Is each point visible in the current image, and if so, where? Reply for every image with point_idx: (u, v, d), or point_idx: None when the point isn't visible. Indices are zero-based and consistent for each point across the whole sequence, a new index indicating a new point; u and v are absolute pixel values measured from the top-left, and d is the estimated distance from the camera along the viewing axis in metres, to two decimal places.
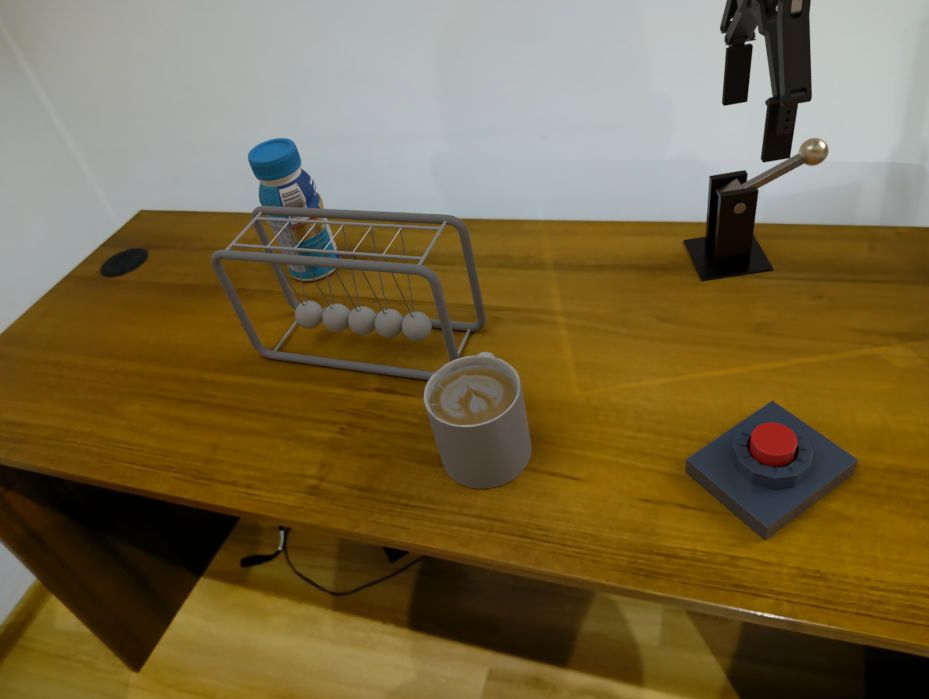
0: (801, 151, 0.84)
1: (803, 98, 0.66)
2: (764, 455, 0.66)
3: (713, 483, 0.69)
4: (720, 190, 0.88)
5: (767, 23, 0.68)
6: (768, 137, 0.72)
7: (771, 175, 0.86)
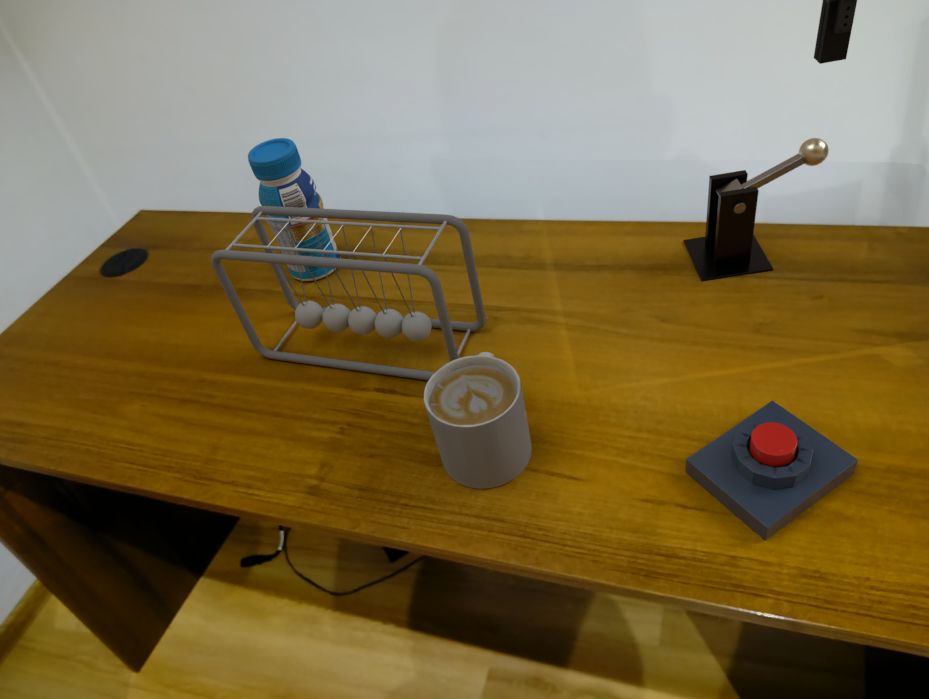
0: (801, 151, 0.84)
1: None
2: (764, 455, 0.66)
3: (713, 483, 0.69)
4: (720, 190, 0.88)
5: None
6: (826, 37, 0.75)
7: (771, 175, 0.86)
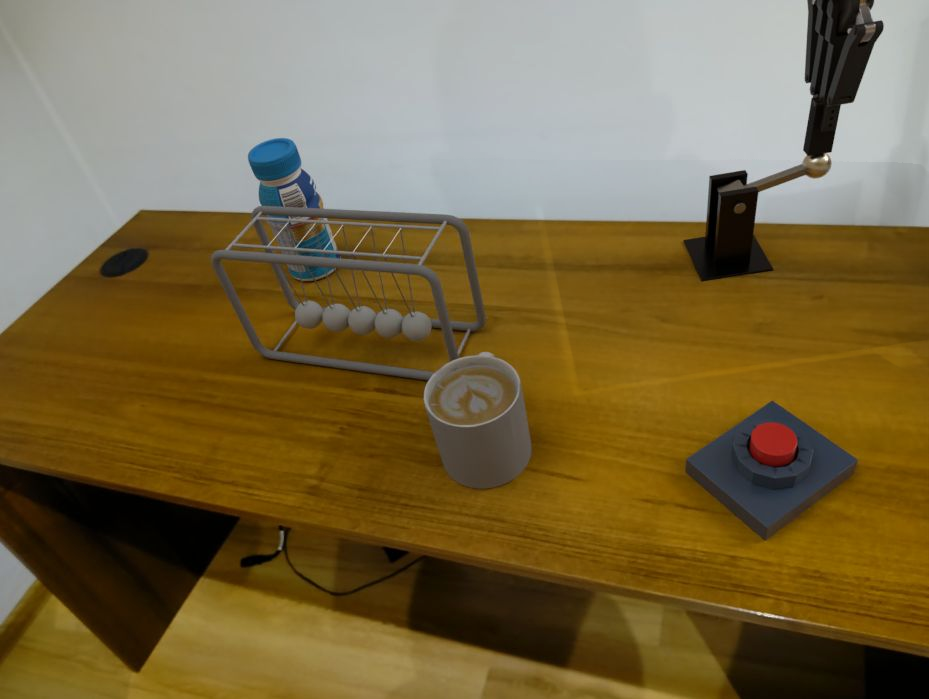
0: (805, 162, 0.85)
1: (847, 100, 0.77)
2: (764, 455, 0.66)
3: (713, 483, 0.69)
4: (721, 188, 0.88)
5: (834, 38, 0.74)
6: (813, 133, 0.82)
7: (773, 181, 0.87)
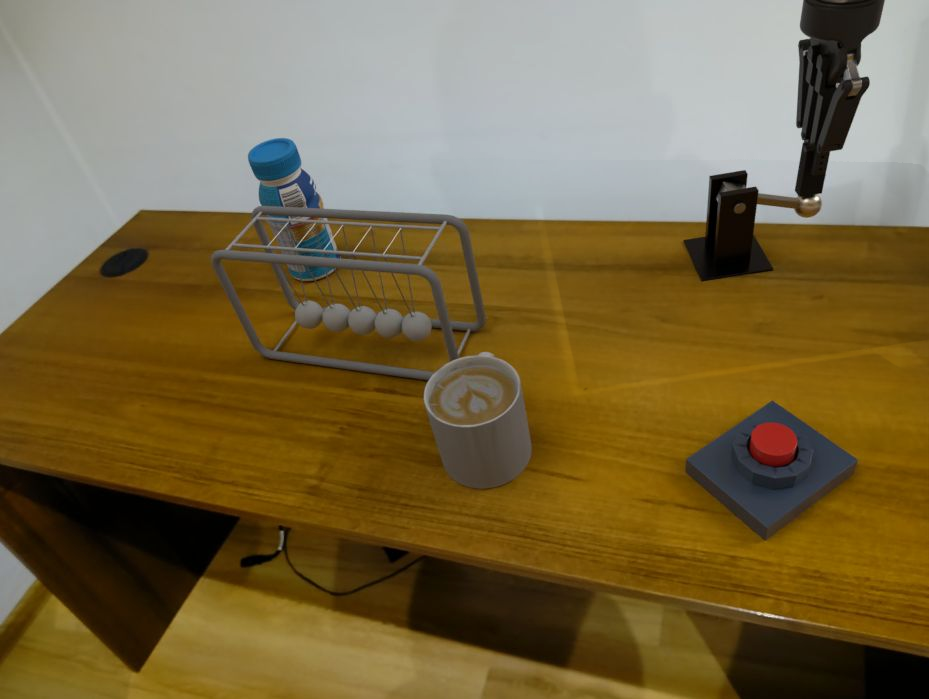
0: (803, 197, 0.89)
1: (836, 147, 0.80)
2: (764, 455, 0.66)
3: (713, 483, 0.69)
4: (728, 184, 0.88)
5: (824, 90, 0.78)
6: (804, 176, 0.86)
7: (771, 200, 0.88)
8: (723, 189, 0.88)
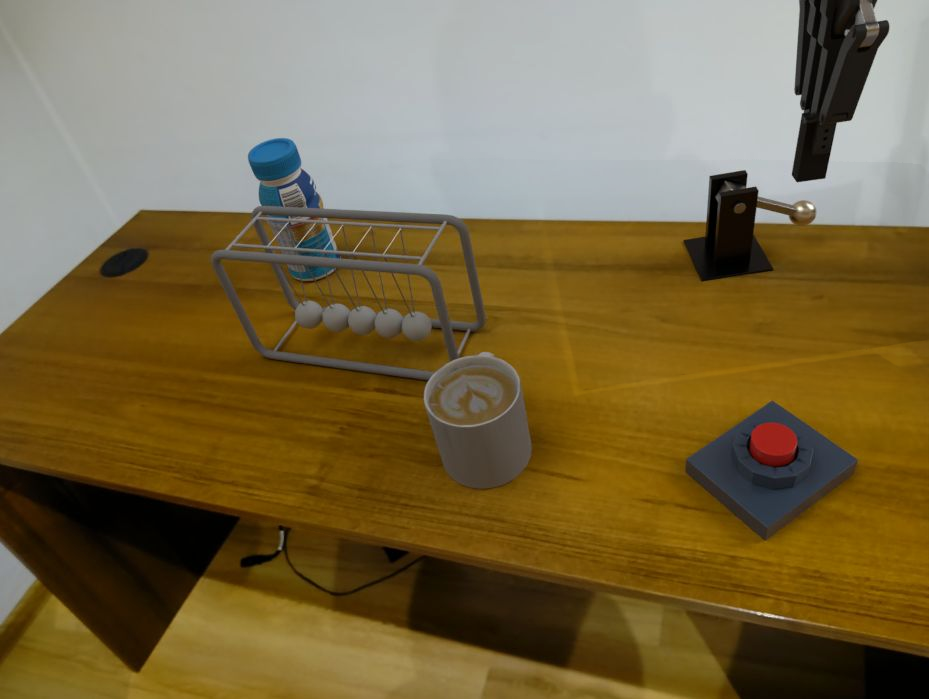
0: (799, 204, 0.89)
1: (844, 117, 0.63)
2: (764, 455, 0.66)
3: (713, 483, 0.69)
4: (729, 183, 0.88)
5: (829, 41, 0.60)
6: (803, 156, 0.69)
7: (769, 204, 0.89)
8: (724, 188, 0.88)
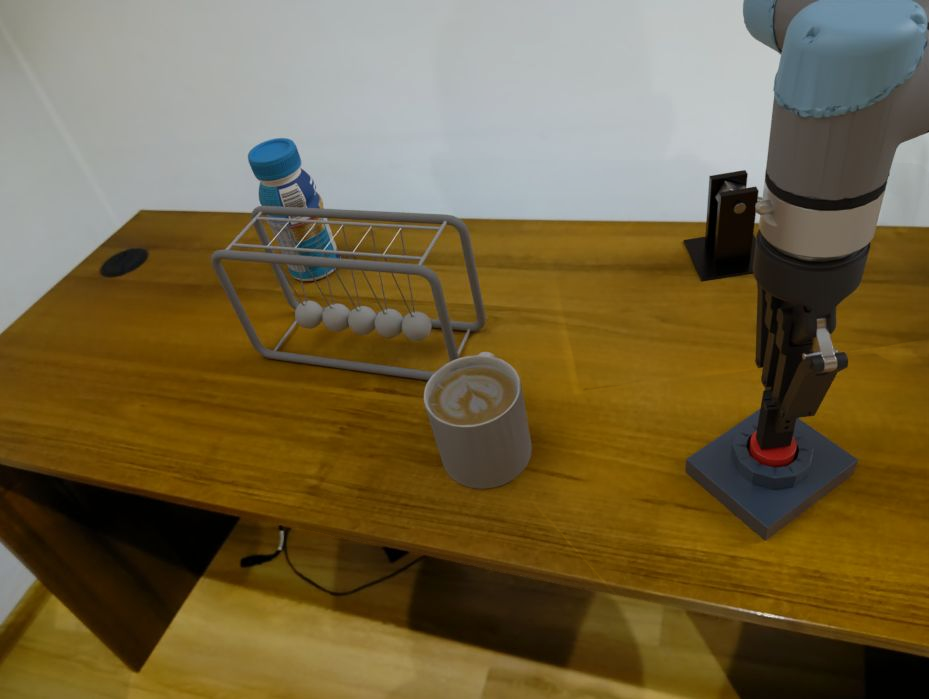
0: None
1: (805, 414, 0.59)
2: (763, 460, 0.67)
3: (713, 483, 0.69)
4: (729, 183, 0.88)
5: (787, 349, 0.57)
6: (766, 430, 0.65)
7: None
8: (724, 188, 0.88)
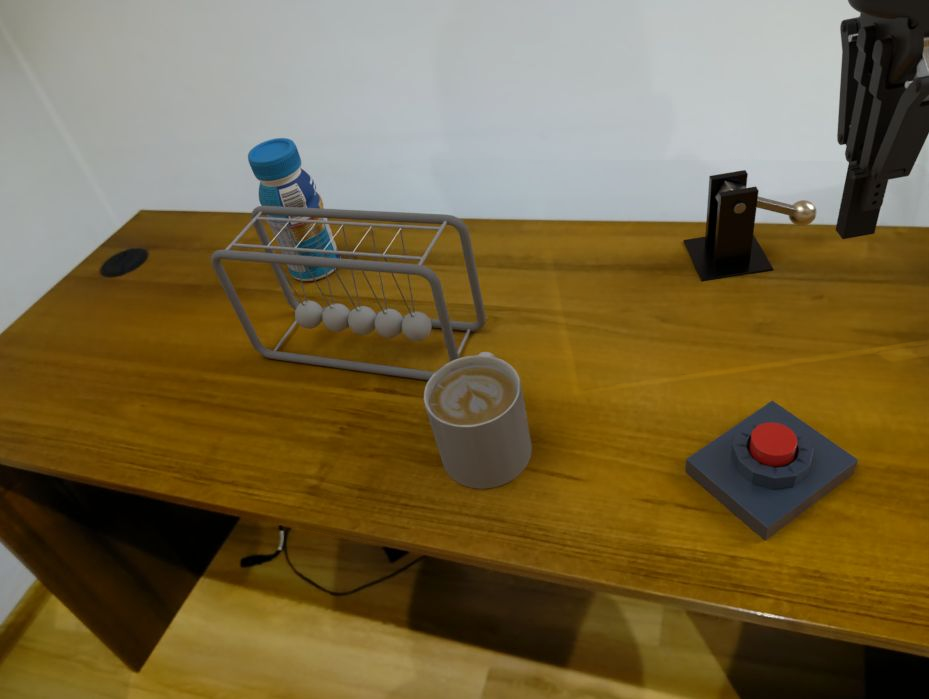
0: (799, 204, 0.89)
1: (900, 173, 0.56)
2: (764, 455, 0.66)
3: (713, 483, 0.69)
4: (729, 183, 0.88)
5: (883, 91, 0.53)
6: (850, 212, 0.61)
7: (769, 204, 0.89)
8: (724, 188, 0.88)
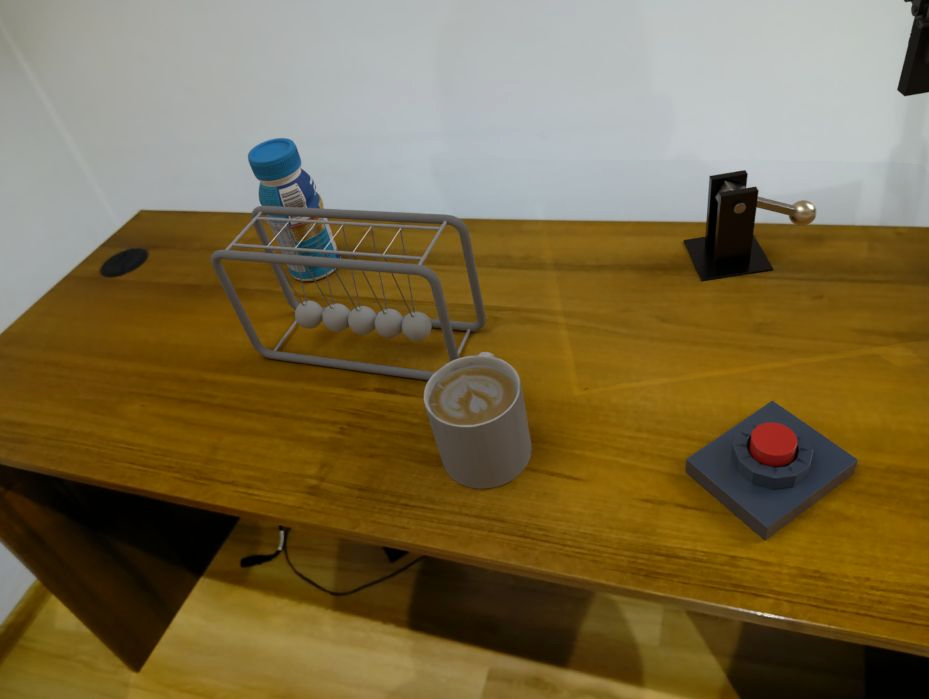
0: (799, 204, 0.89)
1: None
2: (764, 455, 0.66)
3: (713, 483, 0.69)
4: (729, 183, 0.88)
5: None
6: (914, 66, 0.65)
7: (769, 204, 0.89)
8: (724, 188, 0.88)
